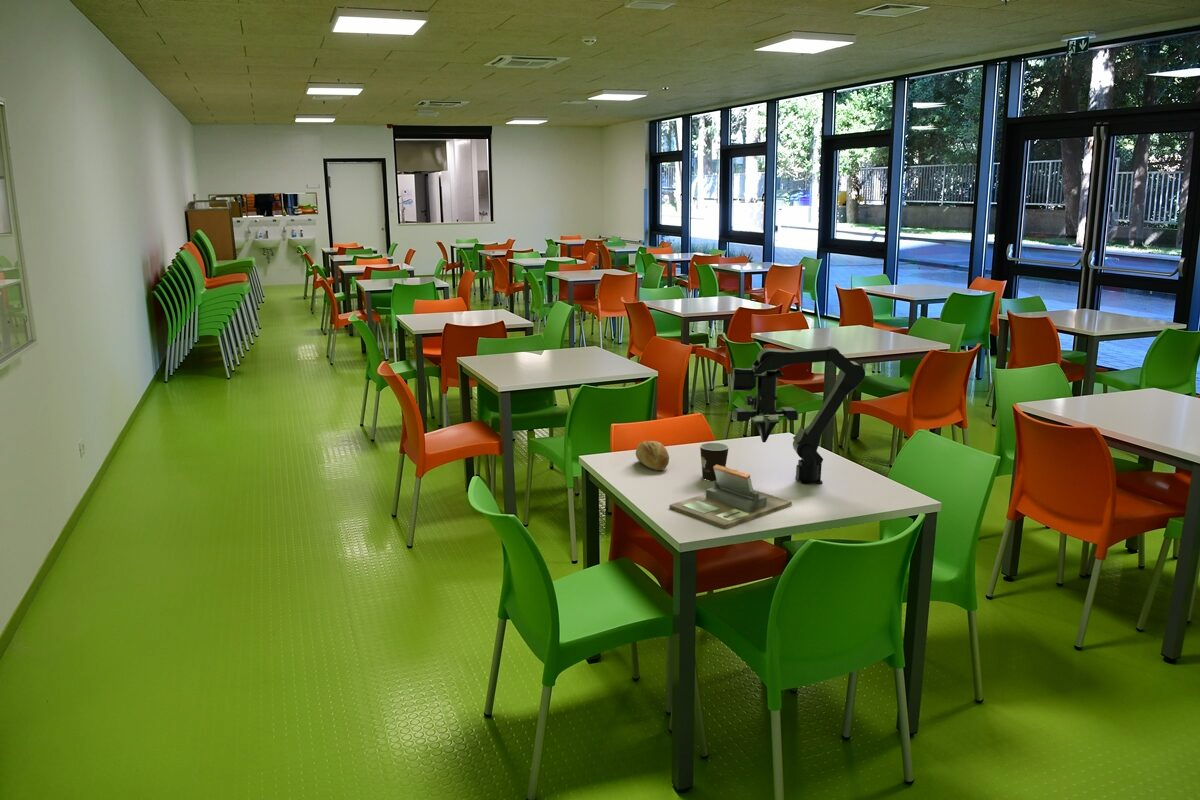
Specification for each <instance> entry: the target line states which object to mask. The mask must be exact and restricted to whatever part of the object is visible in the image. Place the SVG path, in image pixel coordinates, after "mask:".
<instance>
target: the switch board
mask: <svg viewBox="0 0 1200 800" xmlns="http://www.w3.org/2000/svg"><path fill="white" fill-rule="evenodd" d="M717 485H718V483H717V481H714V486H713V487H710V488H707V489H705V490H706V491H705V493H704V494H700V495H697V496H694V497H691V498H687V499H684V500H681V501H678V502H673V503H670V504H669V508H668V509H670V508H671V509H670V510H673V511H675V510H676V512H678V511H679V513H681V514H684V515H686V516H690V517H692V518H695V519H697V520H700V521H703V522H706V523H708V524H711V525H713V526H716V527H719V528H722V529H727V528H728V529H729V528H731V527H734V526H736V524H737V525H739V523H740V524H742V522H743V523H744V522H745V523H746V522H748V521H751V520H754V519H757V518H759V516H760V517H762V516H764V515H768V514H771V513H774V512H776V510H777V511H779V510H782V509H784V507H785V508H788V507H790V506H789V505H791V506H792V503H793V502H792V501H791V500H787V499H784V498H781V497H778V496H775V495H773V494H772V495H771V494H768V493H766V492H761V491H759V490H756V489H753V491H754V494H753V498H751V497H748V496H745V495H742V494H739V493H736V492H733V491H730V490H727V489H724V488H721V487H718V486H717ZM787 506H788V507H787ZM781 508H782V509H781ZM778 509H779V510H778ZM773 511H774V512H773ZM770 512H771V513H770ZM756 517H757V518H756ZM753 518H754V519H753Z"/></svg>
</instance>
